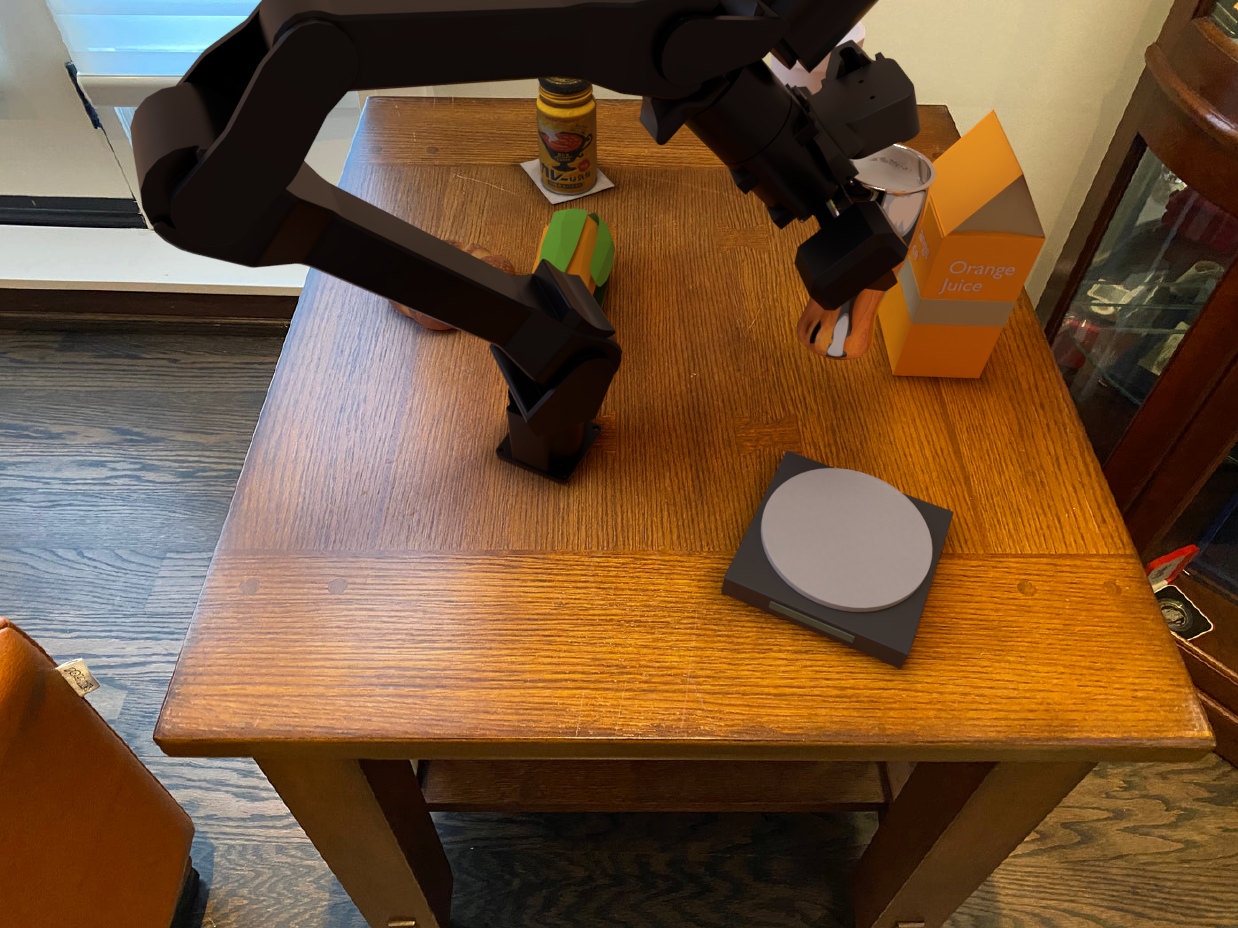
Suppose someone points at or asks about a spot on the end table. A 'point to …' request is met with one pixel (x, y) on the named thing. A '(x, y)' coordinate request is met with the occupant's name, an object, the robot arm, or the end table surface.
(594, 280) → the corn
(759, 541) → the scale
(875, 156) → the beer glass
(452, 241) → the pretzel
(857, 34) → the foam cup
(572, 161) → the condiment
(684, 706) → the end table surface
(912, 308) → the orange juice
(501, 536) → the end table surface
